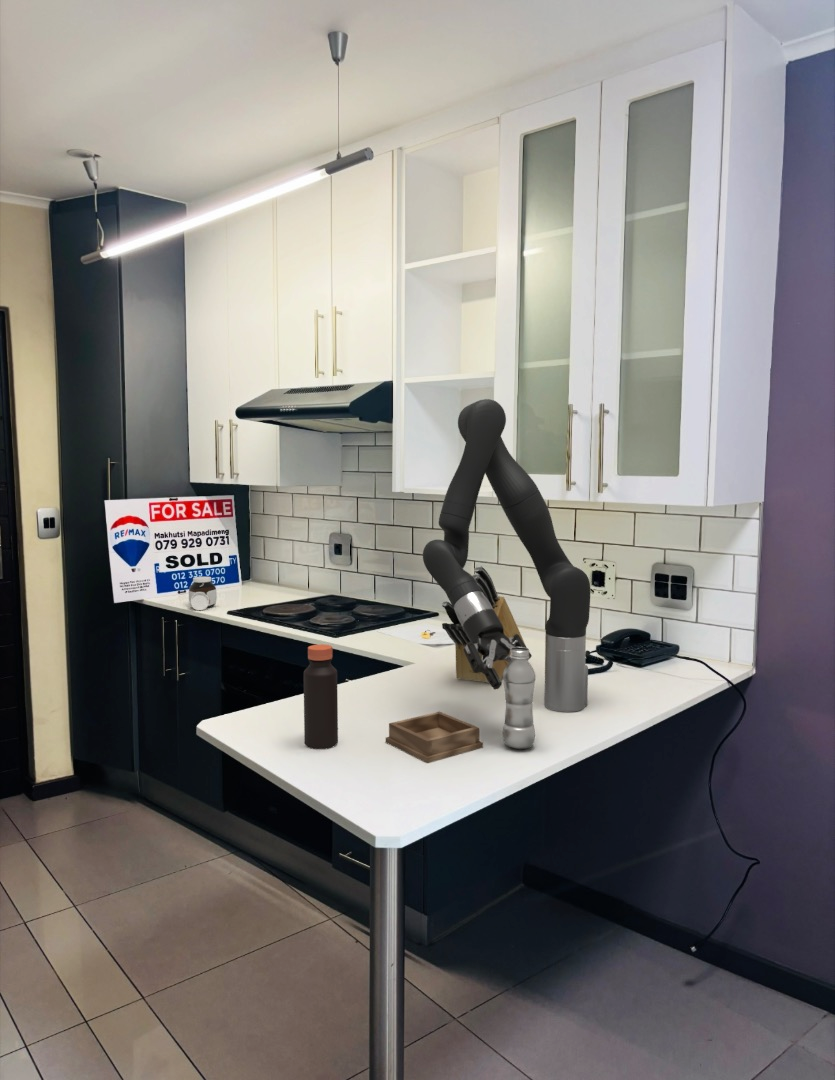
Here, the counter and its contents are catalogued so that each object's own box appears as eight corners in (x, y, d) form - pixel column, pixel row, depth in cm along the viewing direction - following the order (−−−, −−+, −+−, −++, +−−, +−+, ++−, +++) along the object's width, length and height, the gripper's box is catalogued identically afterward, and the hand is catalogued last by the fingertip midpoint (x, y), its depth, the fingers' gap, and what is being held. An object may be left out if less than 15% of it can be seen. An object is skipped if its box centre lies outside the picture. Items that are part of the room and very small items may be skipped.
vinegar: (321, 735, 168) (320, 641, 166) (345, 743, 164) (344, 646, 162) (297, 744, 163) (295, 647, 161) (320, 752, 158) (319, 652, 156)
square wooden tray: (439, 728, 172) (439, 710, 172) (482, 747, 161) (483, 728, 161) (385, 742, 164) (385, 723, 164) (427, 763, 153) (427, 742, 153)
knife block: (437, 688, 202) (438, 566, 199) (492, 658, 233) (493, 552, 230) (478, 695, 197) (479, 569, 194) (529, 663, 228) (531, 554, 225)
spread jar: (210, 604, 320) (209, 575, 319) (223, 608, 312) (223, 578, 310) (181, 608, 313) (180, 578, 311) (194, 612, 304) (193, 581, 303)
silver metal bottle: (518, 755, 157) (519, 654, 155) (495, 745, 162) (496, 648, 160) (542, 748, 161) (543, 650, 159) (518, 738, 166) (520, 643, 164)
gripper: (459, 611, 163) (497, 679, 155) (511, 604, 171) (549, 668, 163) (443, 632, 168) (478, 699, 159) (494, 624, 176) (530, 688, 168)
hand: (514, 683), depth 161 cm, fingers open, 8 cm apart
